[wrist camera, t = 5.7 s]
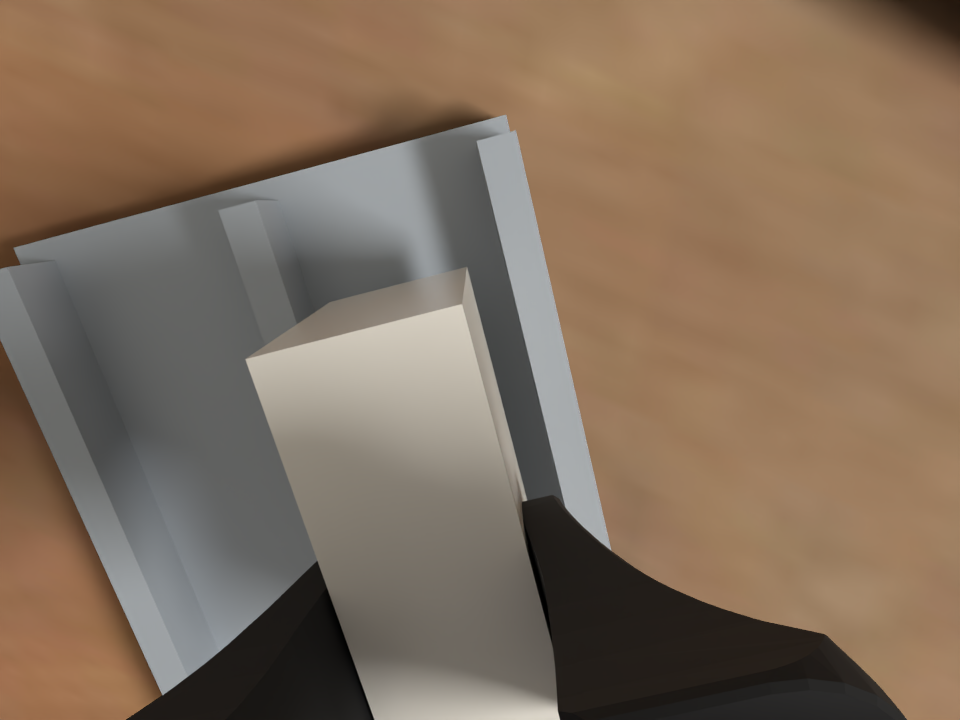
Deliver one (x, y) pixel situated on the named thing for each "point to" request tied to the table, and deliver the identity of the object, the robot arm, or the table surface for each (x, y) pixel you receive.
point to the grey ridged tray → (243, 331)
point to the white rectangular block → (413, 501)
